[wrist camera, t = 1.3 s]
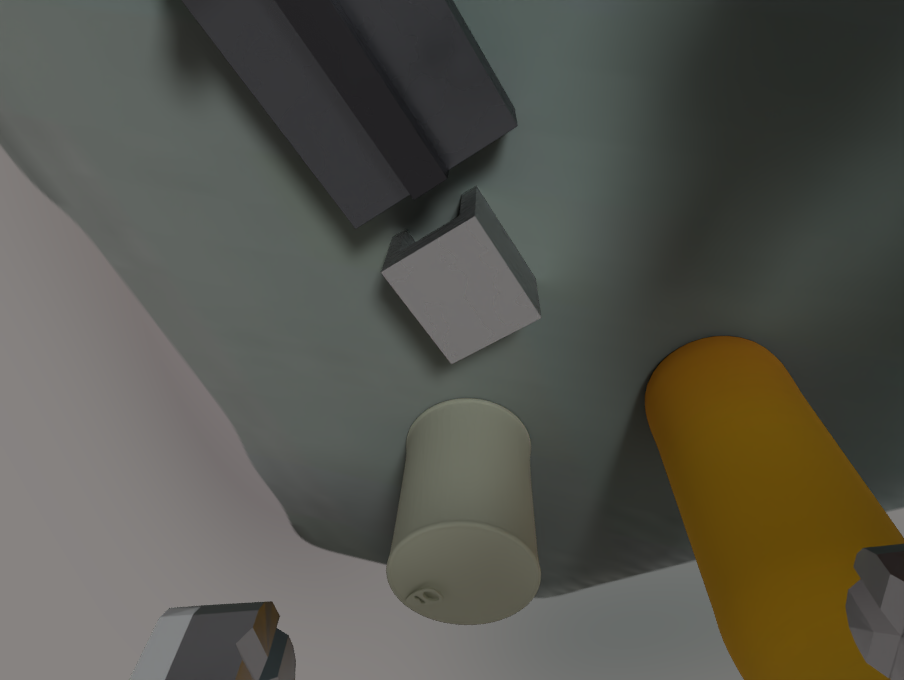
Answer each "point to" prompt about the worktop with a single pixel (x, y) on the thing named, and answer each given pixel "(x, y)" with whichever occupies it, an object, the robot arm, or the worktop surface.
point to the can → (465, 516)
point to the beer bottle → (765, 508)
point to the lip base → (326, 114)
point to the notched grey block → (464, 280)
